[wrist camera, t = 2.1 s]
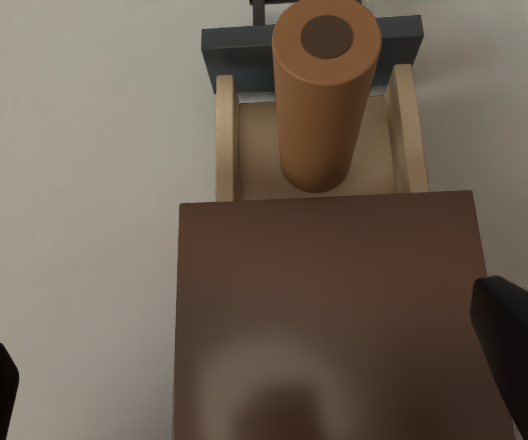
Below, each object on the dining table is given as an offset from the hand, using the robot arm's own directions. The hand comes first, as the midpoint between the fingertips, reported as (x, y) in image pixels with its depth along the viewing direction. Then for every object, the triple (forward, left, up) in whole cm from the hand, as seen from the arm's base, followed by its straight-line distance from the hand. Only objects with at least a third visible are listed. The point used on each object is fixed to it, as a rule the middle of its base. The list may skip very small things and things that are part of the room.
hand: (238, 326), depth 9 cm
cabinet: (-2, -1, -14) cm, 14 cm away
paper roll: (+4, -8, -12) cm, 15 cm away
